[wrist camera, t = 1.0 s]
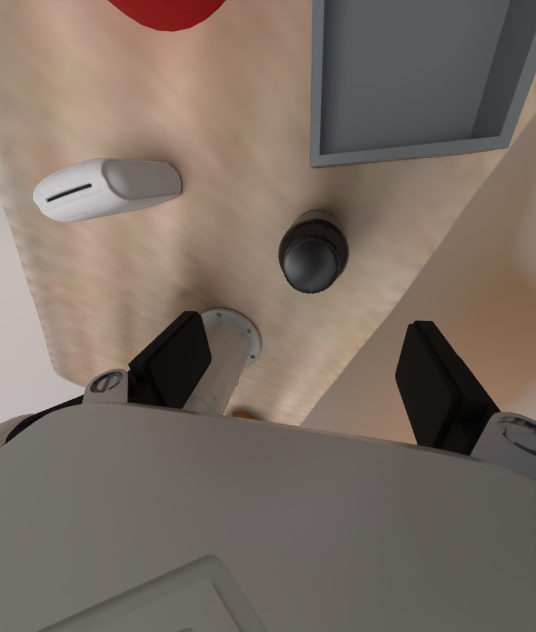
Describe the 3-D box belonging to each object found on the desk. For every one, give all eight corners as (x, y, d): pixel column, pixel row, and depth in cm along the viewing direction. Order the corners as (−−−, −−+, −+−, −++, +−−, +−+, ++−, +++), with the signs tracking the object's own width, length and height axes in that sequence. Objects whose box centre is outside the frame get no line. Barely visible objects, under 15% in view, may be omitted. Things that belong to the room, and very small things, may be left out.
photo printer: (128, 214, 33) (38, 231, 23) (111, 180, 31) (6, 183, 21) (188, 196, 30) (115, 207, 20) (174, 157, 28) (86, 147, 18)
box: (470, 153, 22) (507, 147, 18) (313, 168, 26) (310, 166, 21) (557, -131, 15) (659, -268, 10) (317, -58, 18) (314, -136, 14)
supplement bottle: (343, 262, 30) (351, 304, 20) (291, 265, 32) (275, 306, 22) (344, 204, 27) (354, 221, 17) (286, 211, 29) (264, 231, 19)
